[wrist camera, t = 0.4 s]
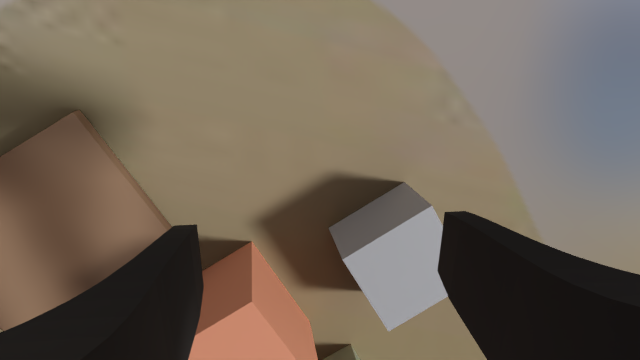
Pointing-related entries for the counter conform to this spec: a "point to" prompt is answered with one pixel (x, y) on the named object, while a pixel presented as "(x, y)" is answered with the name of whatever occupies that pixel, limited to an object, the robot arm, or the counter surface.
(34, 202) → the walnut board
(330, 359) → the flat olive brick
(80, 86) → the counter surface
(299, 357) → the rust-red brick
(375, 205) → the white square brick
